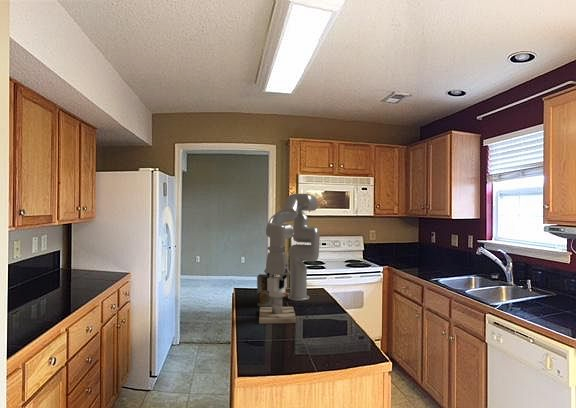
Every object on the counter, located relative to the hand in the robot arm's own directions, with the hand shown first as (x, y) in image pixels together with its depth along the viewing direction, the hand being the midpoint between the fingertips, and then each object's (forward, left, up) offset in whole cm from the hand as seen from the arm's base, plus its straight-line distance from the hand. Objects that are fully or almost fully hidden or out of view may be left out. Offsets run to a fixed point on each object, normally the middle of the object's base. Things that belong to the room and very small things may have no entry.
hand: (277, 287), depth 170 cm
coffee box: (-22, -5, -15) cm, 27 cm away
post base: (0, 0, -14) cm, 14 cm away
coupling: (+1, +1, -4) cm, 4 cm away
